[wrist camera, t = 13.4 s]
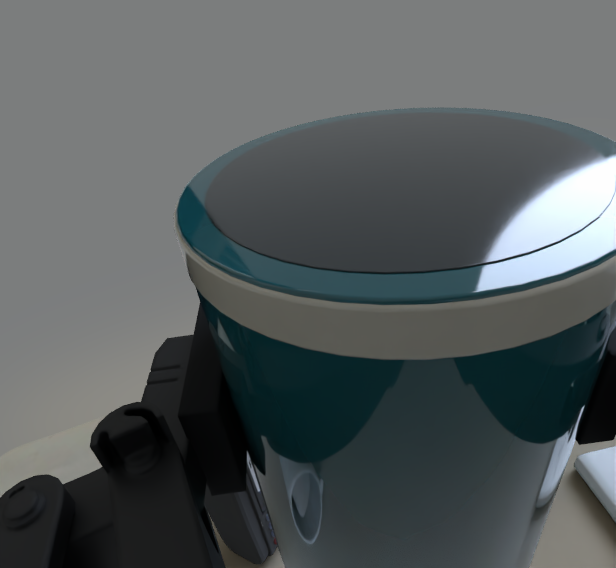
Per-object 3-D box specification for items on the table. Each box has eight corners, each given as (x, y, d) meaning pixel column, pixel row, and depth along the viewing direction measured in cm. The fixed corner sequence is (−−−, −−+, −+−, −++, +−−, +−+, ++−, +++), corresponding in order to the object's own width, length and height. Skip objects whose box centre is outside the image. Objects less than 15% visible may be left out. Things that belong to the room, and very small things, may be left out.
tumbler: (399, 381, 18) (399, 91, 12) (586, 533, 13) (768, 150, 6) (233, 491, 15) (116, 178, 9) (389, 752, 10) (371, 428, 3)
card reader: (268, 580, 29) (213, 436, 20) (218, 552, 31) (149, 409, 22) (329, 462, 35) (307, 314, 27) (285, 445, 37) (251, 301, 29)
